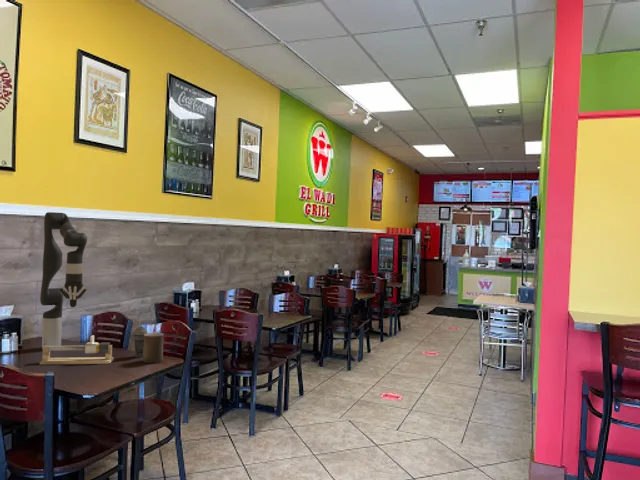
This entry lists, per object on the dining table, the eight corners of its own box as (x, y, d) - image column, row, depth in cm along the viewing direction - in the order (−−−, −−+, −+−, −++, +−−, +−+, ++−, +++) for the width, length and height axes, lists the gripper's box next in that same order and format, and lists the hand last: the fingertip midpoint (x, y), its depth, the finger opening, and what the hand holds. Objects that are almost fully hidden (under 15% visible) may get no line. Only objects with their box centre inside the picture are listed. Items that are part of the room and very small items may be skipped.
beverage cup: (142, 358, 254) (143, 320, 254) (129, 357, 255) (131, 319, 255) (150, 355, 261) (151, 318, 261) (137, 354, 262) (138, 317, 262)
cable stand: (45, 360, 244) (46, 342, 244) (113, 359, 250) (113, 341, 250) (39, 364, 236) (40, 345, 236) (109, 363, 242) (110, 345, 242)
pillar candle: (159, 363, 245) (160, 333, 245) (140, 363, 244) (141, 333, 244) (164, 359, 255) (166, 330, 255) (146, 358, 254) (147, 329, 254)
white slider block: (87, 351, 246) (88, 335, 246) (98, 351, 247) (98, 335, 247) (85, 353, 241) (85, 337, 241) (95, 353, 242) (96, 336, 242)
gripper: (90, 272, 248) (89, 305, 248) (62, 271, 246) (61, 305, 246) (86, 273, 241) (85, 308, 241) (57, 272, 238) (56, 308, 239)
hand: (73, 306), depth 244 cm, fingers closed
